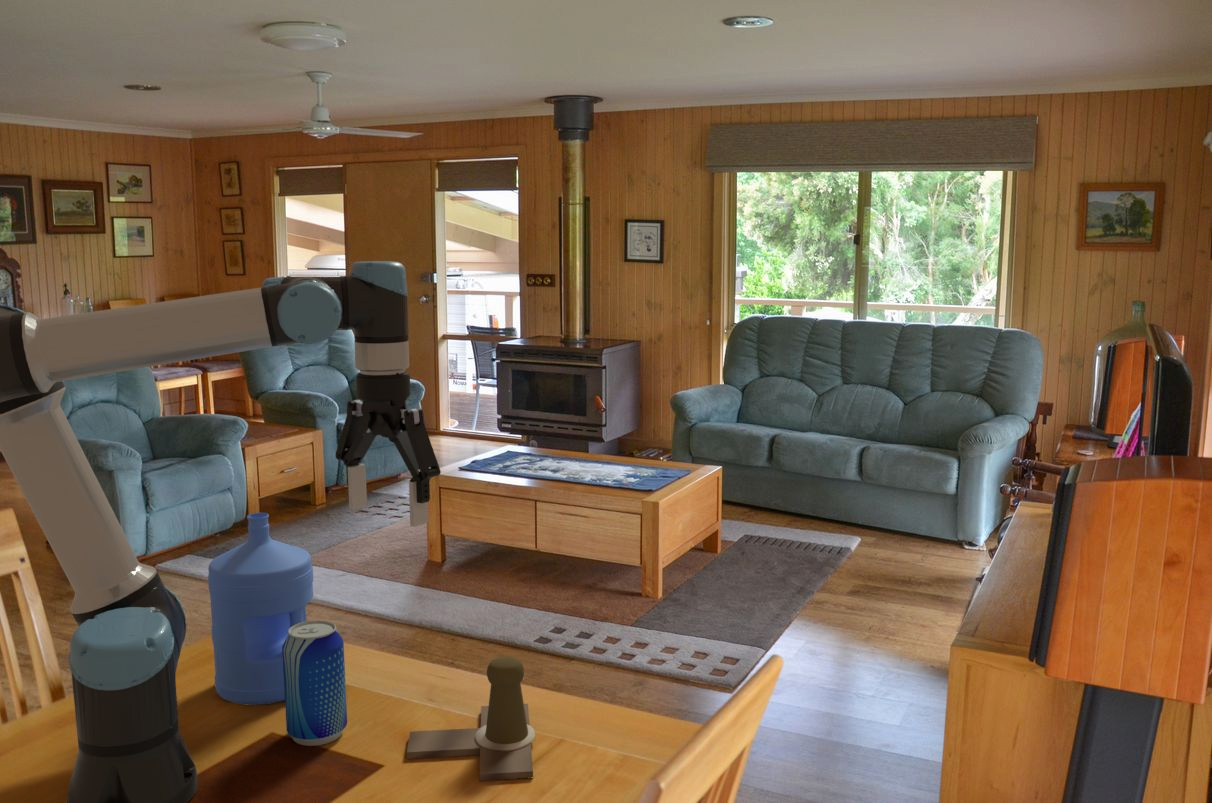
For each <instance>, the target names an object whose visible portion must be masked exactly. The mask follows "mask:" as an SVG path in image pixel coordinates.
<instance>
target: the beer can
mask: <svg viewBox="0 0 1212 803" xmlns="http://www.w3.org/2000/svg"><path fill="white" fill-rule="evenodd" d="M288 634H289V635H288V636H287V638H286V640H285V642H284V644H283V646H282V656H283V674H284V691H285V700H284V705H285V706H284V707H285V709H284V710H285V722H286V723H285V724H286V733H287V734H288V735H289V736H290V737H291V738H292V740H293V741H294V742H295V743H296V744H298V745H301V746H306V747H312V746H313V747H314V746H321V745H322V746H323V745H327V744H329V743H332V742H334V741H336V740H338V739H339V738H340V737H341V735H342V734H343V731H344V730H345V729H346V727H347V725H348V710H347V709H348V708H347V690H346V689H347V686H346V665H345V664H346V663H345V645H344V643H345V642H344V639H343V637H342V635H341V634H340V633H339V632H338V629H337V625H336V624H335V623H334V622H332V621H329V620H322V619H321V620H319V619H317V620H316V619H315V620H314V619H313V620H308V621H307V620H306V622H302V623H299V624H296V625H294V626H292V627H291V628H290V629H289V630H288Z"/></svg>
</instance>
